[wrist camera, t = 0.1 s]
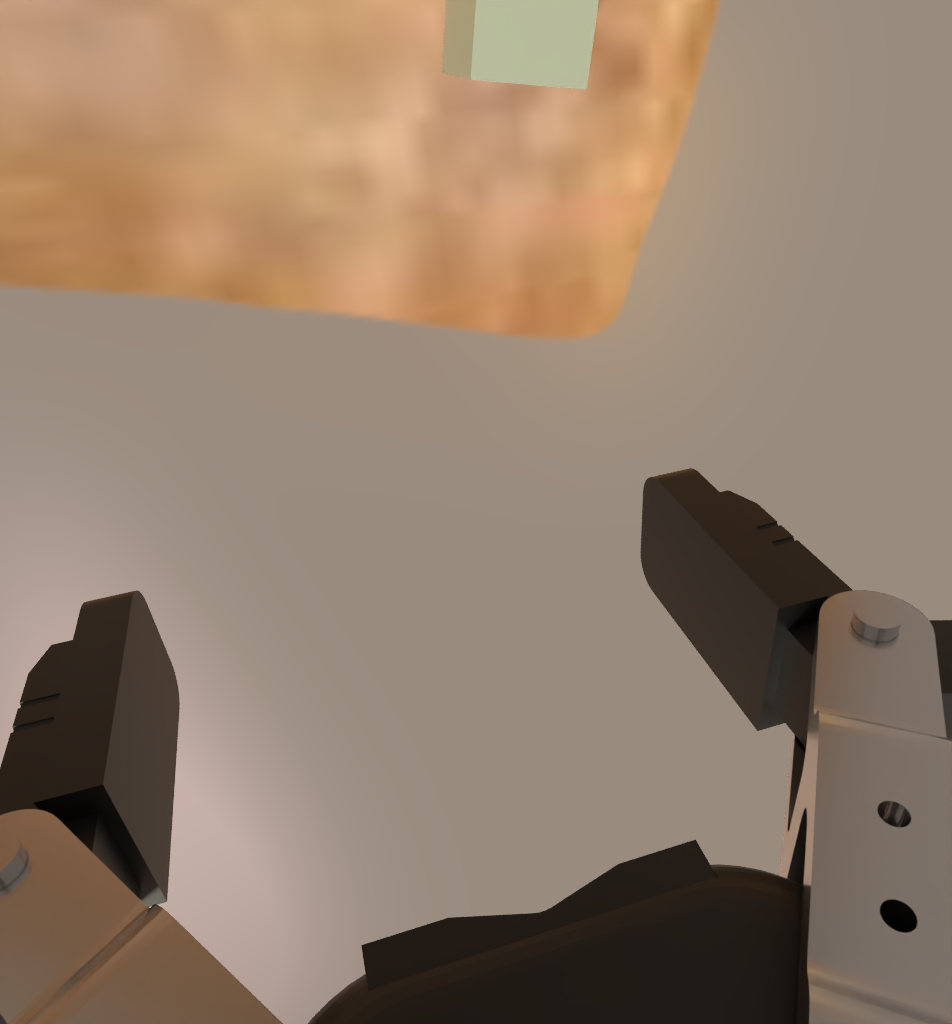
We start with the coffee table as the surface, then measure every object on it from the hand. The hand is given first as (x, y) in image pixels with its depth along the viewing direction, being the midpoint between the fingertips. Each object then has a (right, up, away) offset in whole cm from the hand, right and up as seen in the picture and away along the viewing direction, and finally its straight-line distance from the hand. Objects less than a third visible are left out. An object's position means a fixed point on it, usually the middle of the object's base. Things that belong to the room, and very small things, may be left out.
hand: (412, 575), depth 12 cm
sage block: (+2, +23, +22) cm, 32 cm away
